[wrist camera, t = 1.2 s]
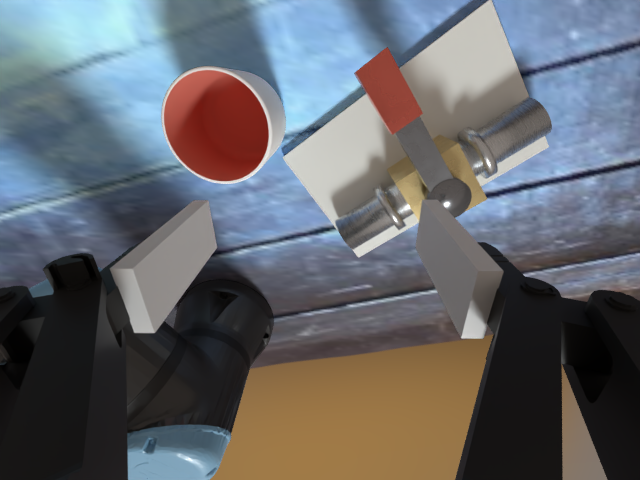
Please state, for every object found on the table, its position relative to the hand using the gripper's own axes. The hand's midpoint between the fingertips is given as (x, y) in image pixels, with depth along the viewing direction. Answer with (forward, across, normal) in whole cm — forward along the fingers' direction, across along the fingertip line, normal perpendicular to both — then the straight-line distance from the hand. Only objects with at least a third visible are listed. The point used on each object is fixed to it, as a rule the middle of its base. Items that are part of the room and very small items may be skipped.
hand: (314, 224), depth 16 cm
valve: (+24, +12, -4) cm, 27 cm away
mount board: (+24, +10, -1) cm, 26 cm away
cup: (+24, -10, +3) cm, 26 cm away
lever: (+16, +9, +1) cm, 18 cm away
